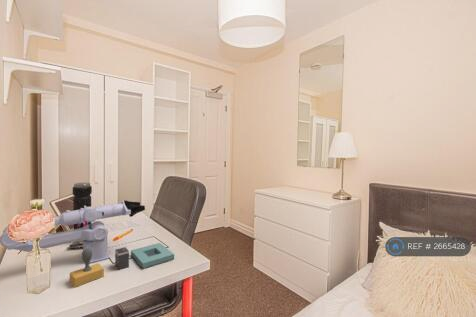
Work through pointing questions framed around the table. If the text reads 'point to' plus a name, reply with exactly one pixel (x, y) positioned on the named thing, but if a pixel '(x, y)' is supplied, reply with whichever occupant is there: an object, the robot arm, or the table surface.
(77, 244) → the statue
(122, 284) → the table surface
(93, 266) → the rubber stamp
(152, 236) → the table surface
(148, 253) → the outlet block
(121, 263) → the plug
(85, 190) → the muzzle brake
